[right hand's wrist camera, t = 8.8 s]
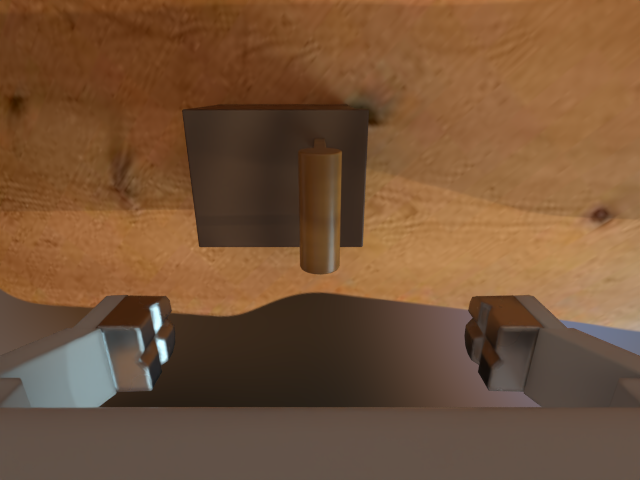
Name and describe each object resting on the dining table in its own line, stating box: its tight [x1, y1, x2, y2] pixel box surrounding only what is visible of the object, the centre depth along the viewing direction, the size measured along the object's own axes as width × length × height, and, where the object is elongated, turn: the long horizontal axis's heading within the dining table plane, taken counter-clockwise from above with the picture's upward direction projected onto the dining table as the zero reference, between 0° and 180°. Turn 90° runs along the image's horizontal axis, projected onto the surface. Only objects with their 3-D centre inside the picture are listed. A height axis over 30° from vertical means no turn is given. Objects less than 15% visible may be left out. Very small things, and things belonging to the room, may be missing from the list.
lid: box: [182, 109, 369, 274], centre depth 23 cm, size 12×9×9 cm
